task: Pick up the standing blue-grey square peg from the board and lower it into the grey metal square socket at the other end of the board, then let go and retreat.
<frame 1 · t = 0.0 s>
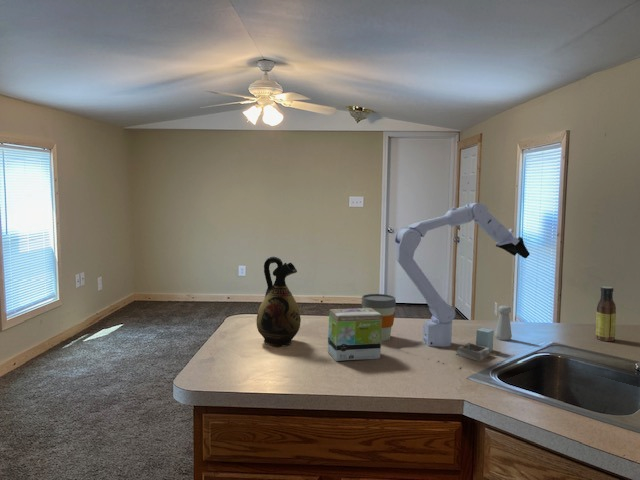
hand: (521, 254, 168), 32 cm above the worktop, tool tilted 50°, fingers open, 7 cm apart
reusable coffee cup: (377, 337, 178), on the worktop
tea box: (353, 356, 157), on the worktop
board: (478, 356, 159), on the worktop
salt shaker: (502, 341, 176), on the worktop
ceramic jug: (276, 342, 170), on the worktop
peg: (484, 350, 161), point 1 cm above the worktop, touching board
sauce bottle: (604, 340, 181), on the worktop
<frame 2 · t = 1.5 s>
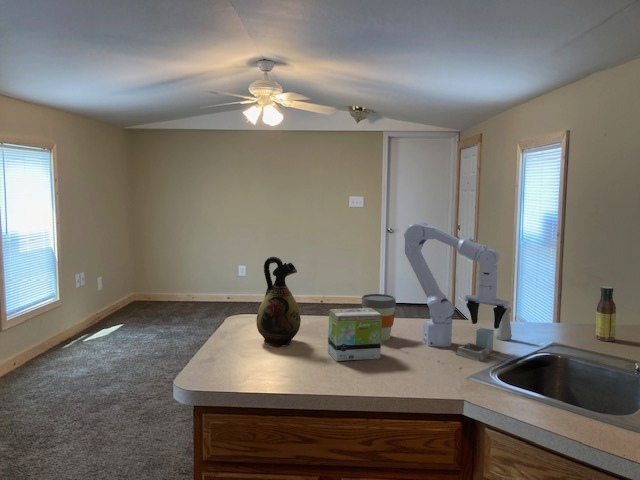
hand: (485, 325, 161), 9 cm above the worktop, tool pointing down, fingers open, 7 cm apart
nothing on the worktop moved.
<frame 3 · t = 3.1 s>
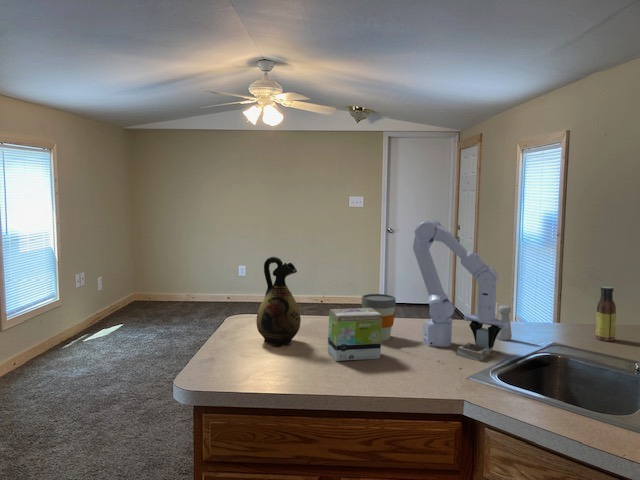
hand: (484, 345, 161), 3 cm above the worktop, tool pointing down, fingers closed on peg, 4 cm apart
peg: (484, 350, 161), point 1 cm above the worktop, touching board, gripper
everything else where it was.
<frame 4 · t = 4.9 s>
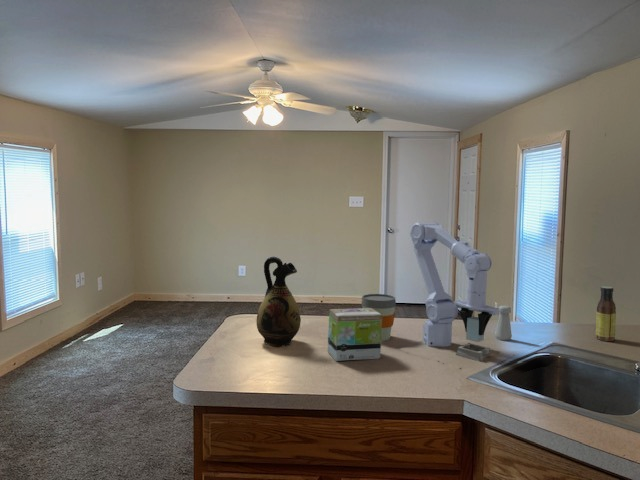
hand: (474, 333, 156), 8 cm above the worktop, tool pointing down, fingers closed on peg, 4 cm apart
peg: (474, 339, 156), point 6 cm above the worktop, touching gripper
everything else where it was.
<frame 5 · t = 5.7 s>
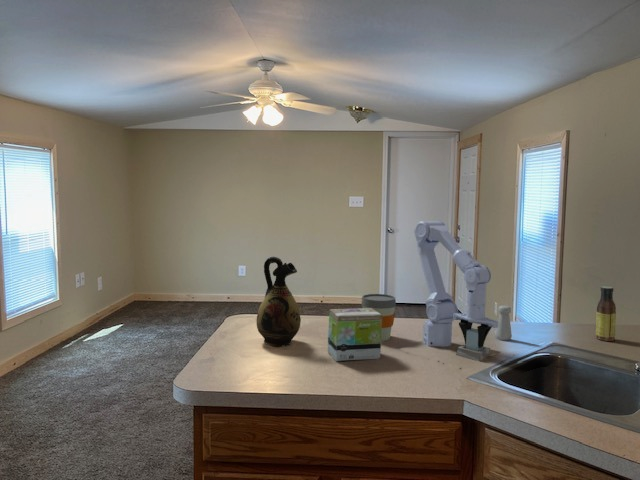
hand: (474, 345, 156), 4 cm above the worktop, tool pointing down, fingers closed on peg, 4 cm apart
peg: (474, 351, 156), point 2 cm above the worktop, touching gripper
everything else where it was.
when the fingers open (4 cm above the worktop, at t = 6.6 s): peg stays where it is, resting on board.
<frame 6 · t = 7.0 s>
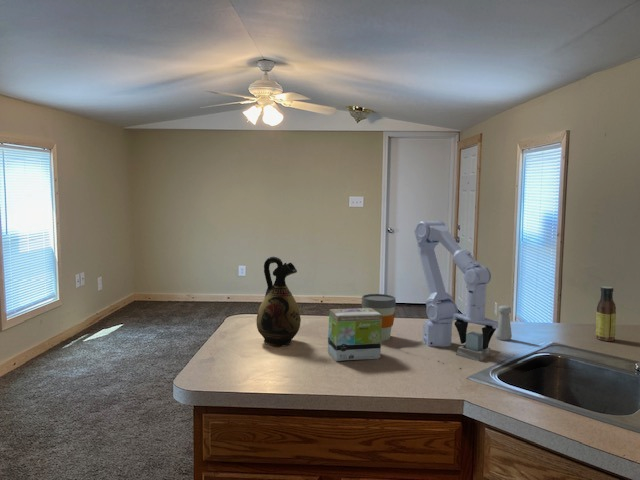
hand: (474, 345, 156), 4 cm above the worktop, tool pointing down, fingers open, 7 cm apart
peg: (474, 355, 157), point 1 cm above the worktop, touching board
everything else where it was.
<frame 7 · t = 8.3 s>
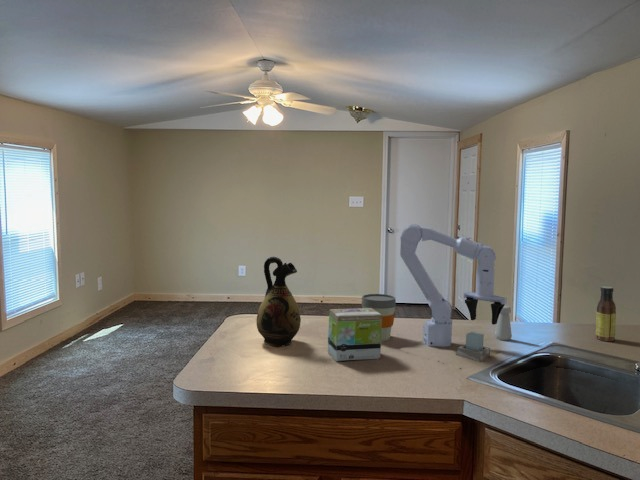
hand: (483, 321, 164), 10 cm above the worktop, tool pointing down, fingers open, 7 cm apart
nothing on the worktop moved.
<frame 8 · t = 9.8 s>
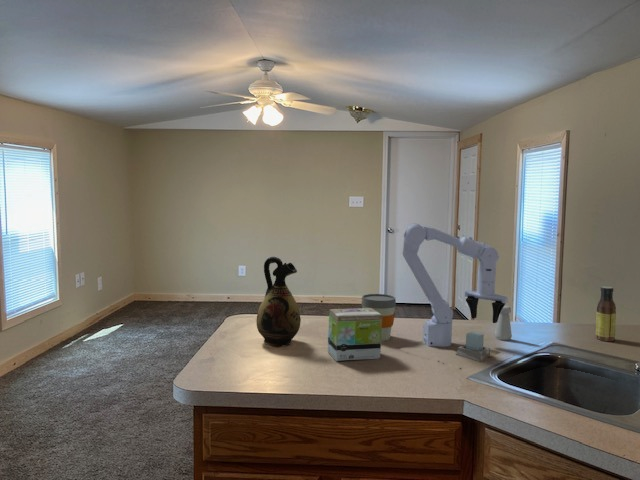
hand: (484, 320, 166), 10 cm above the worktop, tool pointing down, fingers open, 7 cm apart
nothing on the worktop moved.
at the end: peg 0.3 cm from the target spot, point 1.0 cm above the worktop; peg tilted 0°; the gripper is holding nothing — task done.
